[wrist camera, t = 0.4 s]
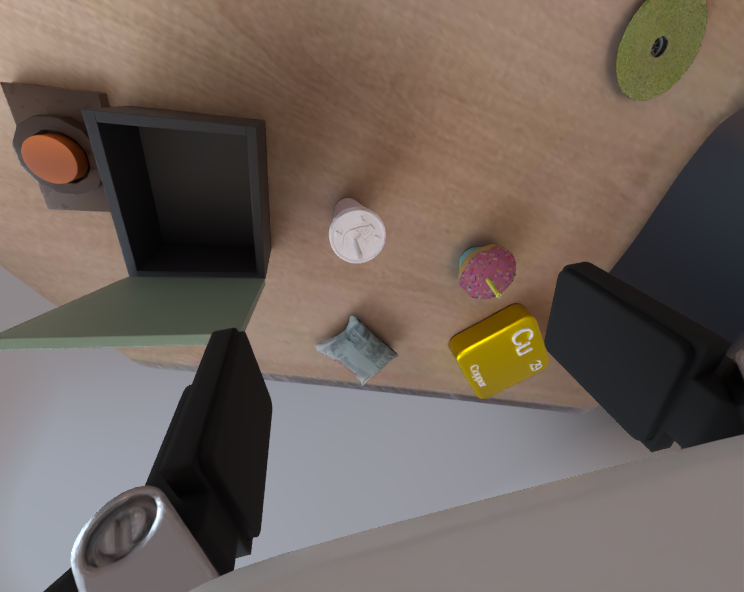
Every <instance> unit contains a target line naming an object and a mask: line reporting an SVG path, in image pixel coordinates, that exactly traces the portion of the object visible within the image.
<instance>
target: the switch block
mask: <svg viewBox="0 0 744 592" xmlns="http://www.w3.org/2000/svg"><path fill="white" fill-rule="evenodd" d="M0 84H1V86H2V89H3V91H4V94H5V97H6V99H7V102H8V105H9V107H10V110H11V112H12V115H13V118H14V120H15V123H16V126H17V127H16V131H15V135H14V139H13V147H14V149H15V152H16V154H17V157H18V160H19V162H20V164H21V166H22V167H23V168H24V169H25V170H26V171H27V172H28V173H29V174H30V175H31V176H32V177H33V178H34V179H35V180H36V181H37V182H38V183H39V186H40V189H41V191H42V194H43V196H44V199H45V202H46V204H47V207H48V209H59V210H80V211H100V212H111V211H110V208H109V204H108V201H107V197H106V194H105V190H104V187H103V183H102V180H101V176H100V173H99V169H98V166H97V163H96V159H95V156H94V152H93V149H92V145H91V142H90V138H89V135H88V131H87V128H86V124H85V121H84V117H83V114H82V110H81V109H87V108H103V107H109V104H108V100H107V96H106V93H100V92H91V91H82V90H73V89H64V88H55V87H46V86H38V85H29V84H20V83H8V82H0ZM46 133H57V134H61V135H64V136H66V137H68V138H70V139H71V140H73V141H74V142H75V143H77V144H78V145H79V146H80V147H81V149H82V150H83V151H84V153H85V155H86V157H87V160H88V169H87V172H86V173H85V175H84V176H83V177H81V178H79V179H76V180H74V181H71V182H68V183H64V184H57V183H51V182H48V181H46V180H44V179H42V178H40V177H39V176H37V175H36V174H34V173H33V172H32V171H31V170H30V169H29V168H28V166H27V165H26V163H25V162H24V159H23V157H22V153H21V148H22V144H23V142H24V141H25V140H26V139H27V138H28V137H31V136H34V135H40V134H46Z"/></svg>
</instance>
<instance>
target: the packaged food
mask: <svg viewBox="0 0 744 592" xmlns="http://www.w3.org/2000/svg"><path fill="white" fill-rule="evenodd" d="M315 348H316V349H317V350H318V351H319V352H320V353H322V354H325V355H328V356H329V357H330V358H331V359H332V360H334V361H336V362H338V363H340V364H342V365H344V367H345V368H347V369H348V370H349V372H352V373H353V374H354V375H355V376H356V377H357V378H358V379H359V381H360V382H361V384H362V386H363V385H364V384H365V382H366V381H367V380H368V379H369V378H370V377H372V376H374V375H376V374H377V373H378V372H379V371H380V370H381V369H382V368H383V367H384V366H385V365H386V364H387V363H388V362H389V361H390V360H391V359H393V358H396V357H398V354H397V353H396V352H395V351H394V350H393V349H391V348H390V347H389V346H388V345H387V344H386V343H384V342H383V341H381V340H380V339H379V338H378V337H376V336H375V335H374V334H373V333H372V332H371V331H370V330H369V329H368V328H367V326H366V325H365V324H363V323H362V322H361V321H360V320H359V319H358V318H356V317H354V316H351V317H350V318H349V324H348V326H347V328H346V329H345V330H344V331H343V332H342V333H340V334H339V335H337V336H335V337H333V338H331V339H329V340H327V341H325V342H323V343H319V344H317V345H315Z"/></svg>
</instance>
